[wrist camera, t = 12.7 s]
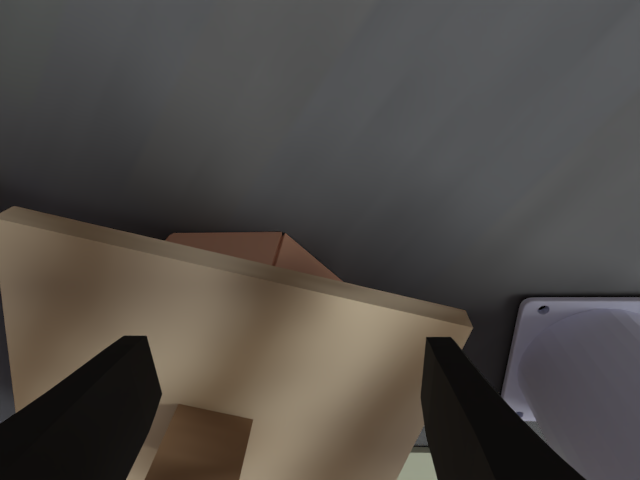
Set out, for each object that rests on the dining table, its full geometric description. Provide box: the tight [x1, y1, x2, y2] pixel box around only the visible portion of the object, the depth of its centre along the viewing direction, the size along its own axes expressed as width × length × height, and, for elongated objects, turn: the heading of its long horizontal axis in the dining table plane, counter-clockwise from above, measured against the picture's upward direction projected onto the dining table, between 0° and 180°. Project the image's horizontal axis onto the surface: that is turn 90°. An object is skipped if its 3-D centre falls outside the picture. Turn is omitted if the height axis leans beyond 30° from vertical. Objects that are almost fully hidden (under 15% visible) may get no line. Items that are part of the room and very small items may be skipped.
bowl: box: [165, 232, 343, 282], centre depth 20 cm, size 13×13×5 cm
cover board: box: [0, 206, 473, 480], centre depth 16 cm, size 16×16×6 cm
